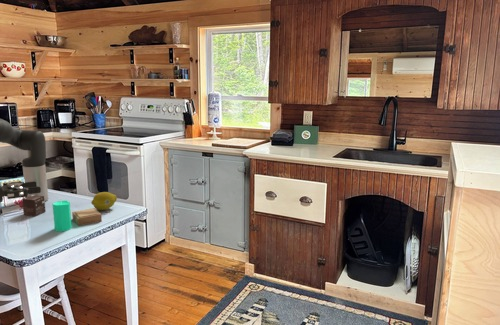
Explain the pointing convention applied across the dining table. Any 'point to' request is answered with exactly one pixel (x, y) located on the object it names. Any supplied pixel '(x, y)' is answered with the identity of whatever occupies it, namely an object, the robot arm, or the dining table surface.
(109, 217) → the dining table surface
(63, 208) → the candle
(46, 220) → the dining table surface
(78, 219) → the stand
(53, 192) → the dining table surface
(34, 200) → the box
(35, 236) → the dining table surface
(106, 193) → the lemon
